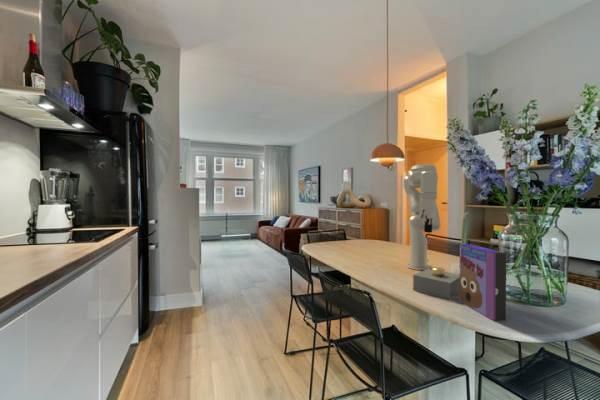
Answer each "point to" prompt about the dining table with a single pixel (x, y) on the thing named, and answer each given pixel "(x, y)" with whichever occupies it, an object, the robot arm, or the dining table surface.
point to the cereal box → (483, 281)
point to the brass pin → (438, 272)
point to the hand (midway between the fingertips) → (428, 232)
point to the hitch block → (437, 284)
